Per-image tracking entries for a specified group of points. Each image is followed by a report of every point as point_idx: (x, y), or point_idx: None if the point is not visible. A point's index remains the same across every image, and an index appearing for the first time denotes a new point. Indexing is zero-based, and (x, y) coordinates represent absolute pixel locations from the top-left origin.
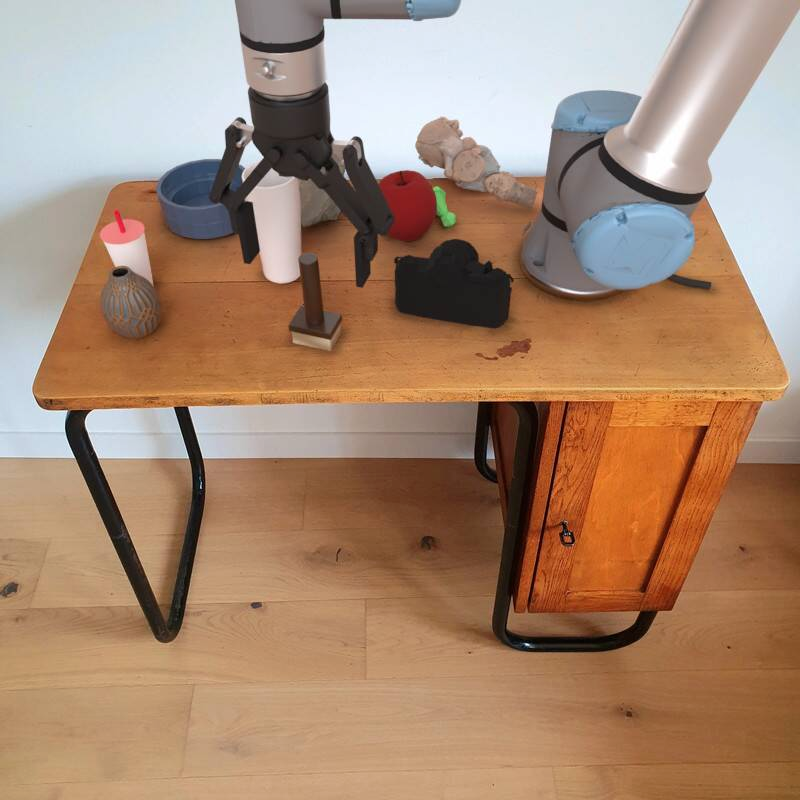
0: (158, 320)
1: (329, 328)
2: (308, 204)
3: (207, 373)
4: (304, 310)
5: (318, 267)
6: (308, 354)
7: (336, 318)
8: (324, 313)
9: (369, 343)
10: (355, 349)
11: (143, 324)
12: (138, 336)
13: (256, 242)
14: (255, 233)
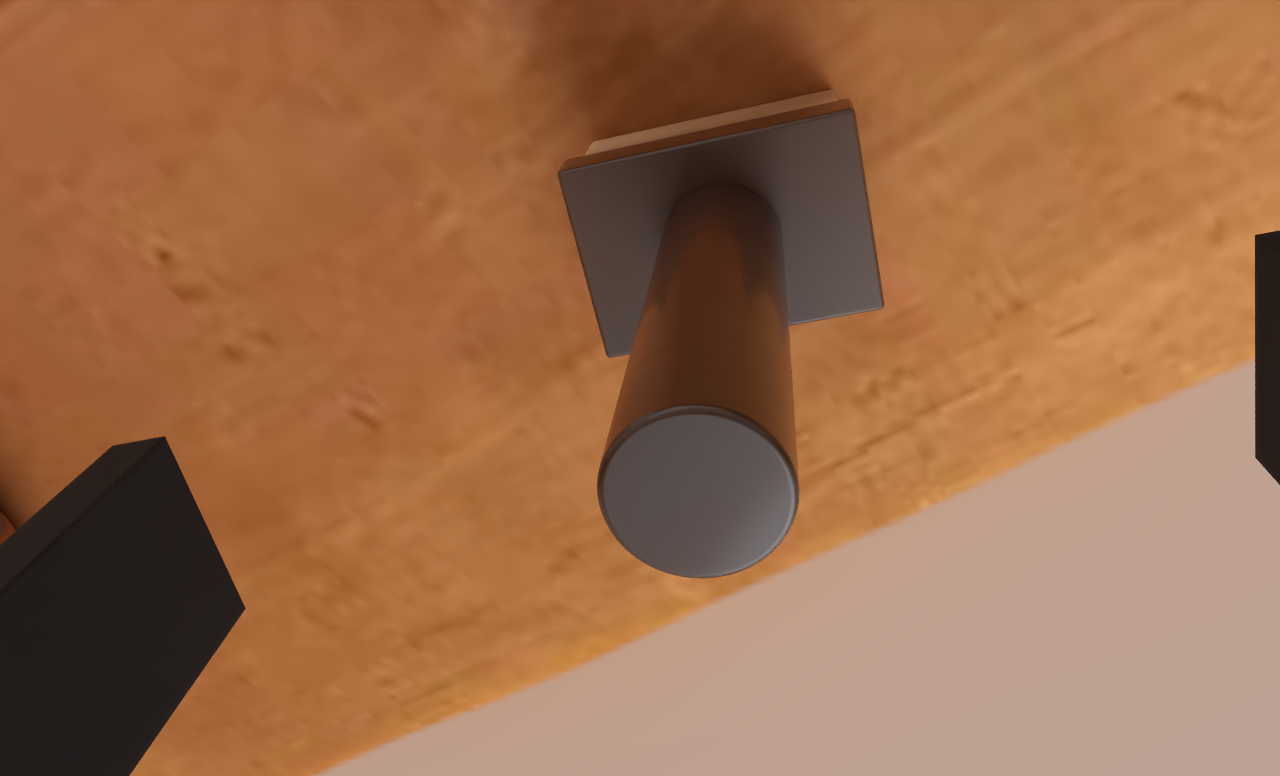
0: None
1: (854, 271)
2: None
3: (425, 623)
4: (609, 203)
5: (791, 421)
6: None
7: (843, 164)
8: (743, 163)
9: (1041, 79)
10: (983, 168)
11: None
12: None
13: (118, 537)
14: (56, 592)
